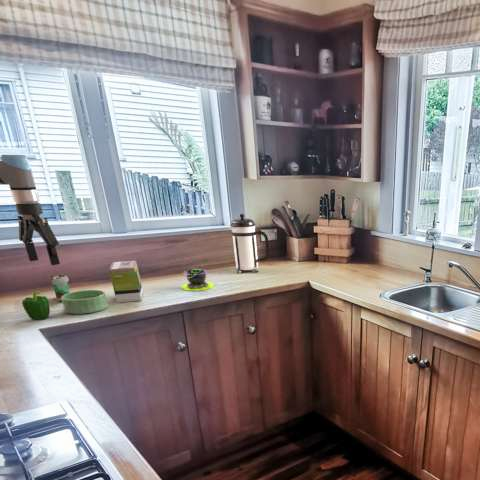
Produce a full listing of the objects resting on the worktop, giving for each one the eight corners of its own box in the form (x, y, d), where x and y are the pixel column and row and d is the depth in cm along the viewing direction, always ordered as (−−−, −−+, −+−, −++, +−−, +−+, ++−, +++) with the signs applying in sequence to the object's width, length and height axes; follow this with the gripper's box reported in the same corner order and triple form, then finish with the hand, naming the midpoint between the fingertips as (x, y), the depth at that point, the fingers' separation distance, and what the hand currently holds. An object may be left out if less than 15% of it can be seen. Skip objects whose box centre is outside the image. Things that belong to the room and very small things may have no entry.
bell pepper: (31, 323, 174) (22, 297, 170) (24, 318, 179) (16, 292, 175) (56, 317, 180) (49, 292, 175) (49, 313, 185) (42, 288, 180)
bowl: (58, 315, 182) (54, 300, 180) (74, 304, 196) (70, 290, 193) (100, 314, 184) (96, 299, 182) (113, 303, 198) (110, 289, 196)
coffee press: (248, 275, 247) (242, 216, 234) (227, 271, 254) (220, 213, 242) (271, 269, 260) (267, 213, 247) (251, 265, 268) (246, 211, 255)
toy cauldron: (182, 284, 229) (178, 261, 224) (214, 282, 233) (211, 259, 228) (180, 291, 216) (176, 268, 211) (214, 289, 220) (211, 266, 215)
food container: (74, 301, 200) (68, 278, 196) (58, 303, 197) (51, 279, 193) (72, 294, 209) (66, 272, 205) (56, 296, 206) (50, 274, 202)
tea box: (119, 294, 211) (111, 261, 204) (143, 292, 214) (137, 259, 208) (116, 303, 198) (108, 268, 192) (142, 301, 202) (135, 266, 195)
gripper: (59, 203, 163) (75, 264, 172) (18, 199, 173) (35, 257, 182) (37, 205, 157) (54, 268, 166) (-4, 201, 167) (15, 260, 176)
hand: (44, 262), depth 174 cm, fingers open, 13 cm apart
